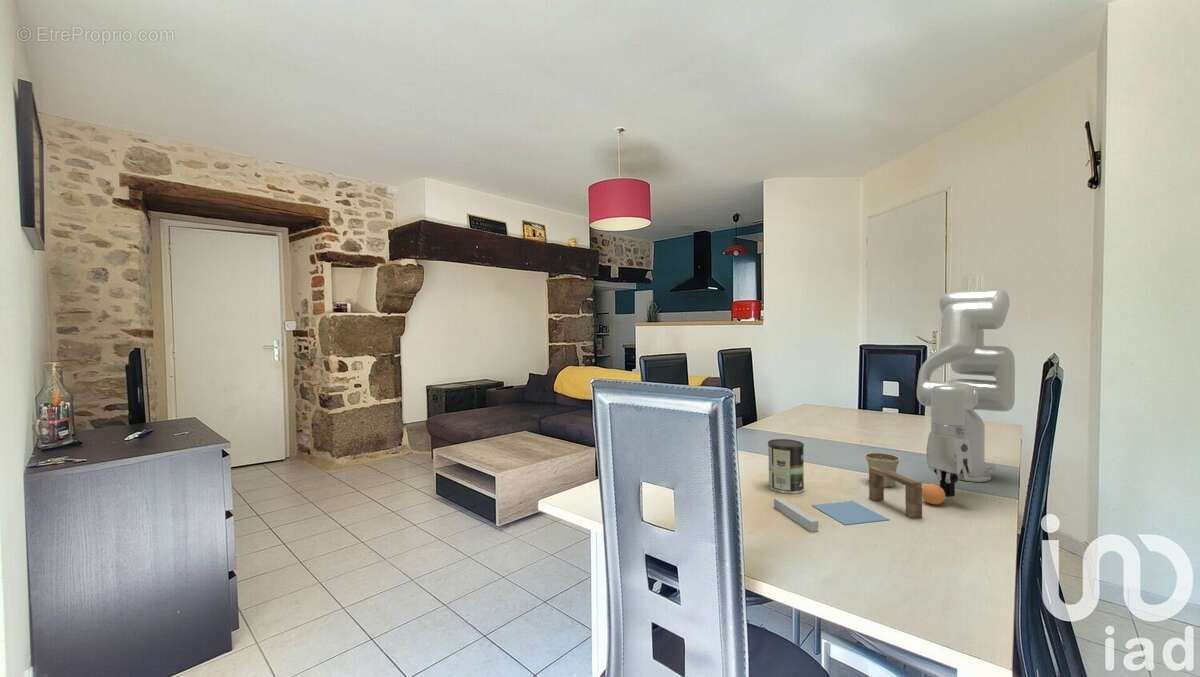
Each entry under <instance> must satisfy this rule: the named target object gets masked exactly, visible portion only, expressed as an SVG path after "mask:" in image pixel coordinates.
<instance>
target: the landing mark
mask: <svg viewBox="0 0 1200 677" xmlns="http://www.w3.org/2000/svg"><path fill="white" fill-rule="evenodd" d="M811 506H812V507H813V508H815V509H816V510H818V511H820V512H822V513H823V514H825V515H827V516H828V517H830V518H831V519H833V520H835V521H837V522H839V523H841V524H842V525H844V526H849V525H850V526H851V525H857V524H858V525H859V524H865V523H866V524H867V523H876V522H884V521H890V518H888V517H886V516H883V515H882V514H880V513H878V512H876V511H874V510H871V509H870V508H868V507H865V506H863V505H861V504H860V503H858V502H856V501H854V500H849V501H848V500H847V501H840V502H830V503H829V502H828V503H819V504H811Z"/></svg>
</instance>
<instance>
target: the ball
mask: <svg viewBox="0 0 1200 677" xmlns="http://www.w3.org/2000/svg"><path fill="white" fill-rule="evenodd" d="M922 500H924V501H925V502H927V503H928V504H931V505H940V504H942V503H943V502H944V501H945V500H946V497H945V492H944V490H943V489H942V488H941V487H940V485H939V484H936V483H927V484H924V485H922Z"/></svg>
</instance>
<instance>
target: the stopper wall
mask: <svg viewBox="0 0 1200 677" xmlns="http://www.w3.org/2000/svg"><path fill="white" fill-rule="evenodd" d="M773 508H775V509H776V510H778V512H780V513H782V514H783V515H784V516H787V517H788V518H790V519H791V520H792V521H794V522H795V523H797V524H798V525H800V526H801V527H803V528H805V529H806V530H808V532H810V533H813V532H819V520H817V519H816V518H814V517H812V516H811V515H809V514H807V513H806V512H805V511H803V510H801V509H800V508H799V507H797V506H795V505H793V504H791V503H790V502H789V501H787V500H785V499H784V498H782V497H774V498H773Z"/></svg>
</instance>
